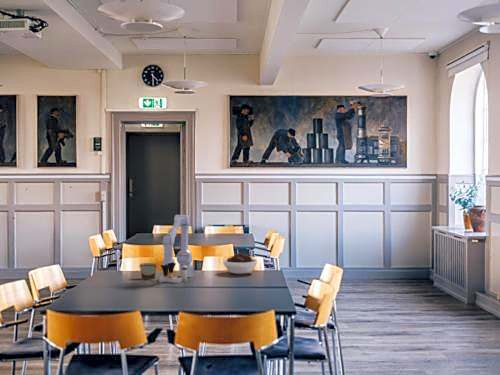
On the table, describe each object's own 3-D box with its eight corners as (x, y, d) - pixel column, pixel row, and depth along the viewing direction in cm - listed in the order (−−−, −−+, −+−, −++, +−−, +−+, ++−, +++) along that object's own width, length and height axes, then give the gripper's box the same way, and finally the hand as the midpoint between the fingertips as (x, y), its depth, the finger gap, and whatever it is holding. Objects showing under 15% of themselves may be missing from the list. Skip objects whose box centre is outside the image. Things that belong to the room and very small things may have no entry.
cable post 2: (185, 280, 400) (185, 265, 400) (188, 280, 398) (188, 266, 398) (181, 280, 398) (181, 266, 398) (184, 281, 396) (184, 266, 396)
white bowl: (216, 274, 427) (216, 253, 427) (235, 269, 448) (235, 250, 448) (245, 277, 414) (245, 255, 414) (263, 272, 435) (263, 252, 435)
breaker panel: (163, 280, 401) (163, 274, 401) (182, 281, 396) (182, 275, 396) (159, 281, 394) (159, 276, 394) (178, 282, 390) (178, 277, 390)
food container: (159, 277, 412) (159, 263, 412) (156, 278, 406) (156, 264, 406) (141, 277, 413) (141, 262, 413) (139, 278, 407) (139, 264, 407)
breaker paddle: (168, 276, 395) (168, 272, 395) (172, 276, 394) (172, 272, 394) (167, 276, 394) (167, 272, 394) (171, 277, 393) (171, 273, 393)
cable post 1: (165, 279, 405) (165, 264, 405) (167, 279, 403) (167, 265, 403) (161, 279, 403) (161, 264, 403) (163, 280, 401) (163, 265, 400)
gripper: (167, 252, 399) (167, 272, 399) (157, 255, 385) (157, 276, 386) (177, 253, 397) (177, 273, 397) (167, 255, 383) (167, 276, 383)
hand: (168, 274), depth 391 cm, fingers open, 7 cm apart
